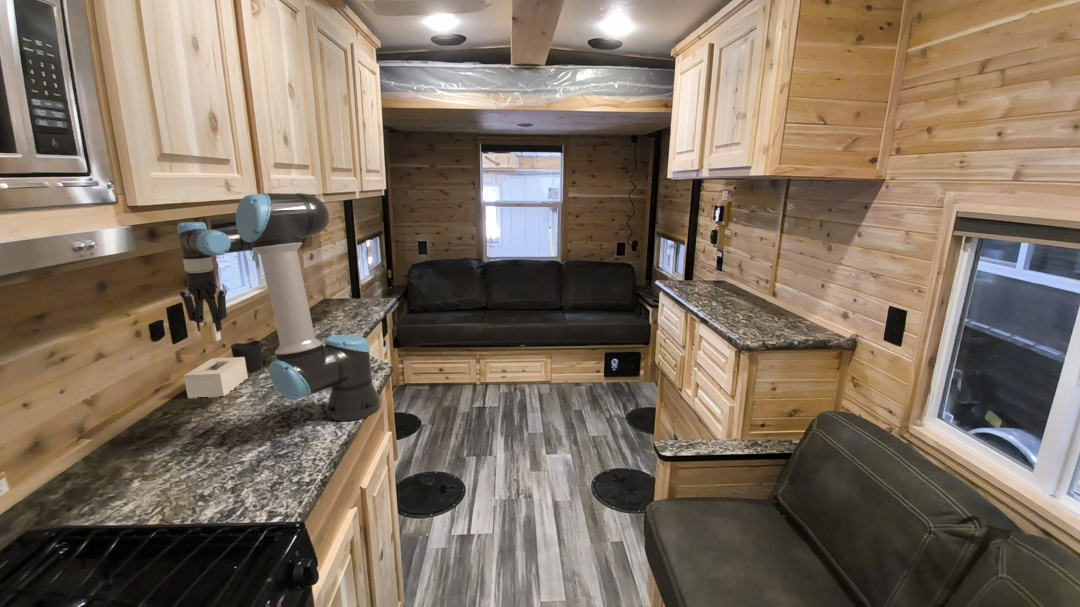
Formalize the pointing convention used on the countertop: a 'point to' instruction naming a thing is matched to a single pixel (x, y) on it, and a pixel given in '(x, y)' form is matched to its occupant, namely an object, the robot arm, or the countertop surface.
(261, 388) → the countertop surface
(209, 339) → the block
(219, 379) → the box
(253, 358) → the pen holder
